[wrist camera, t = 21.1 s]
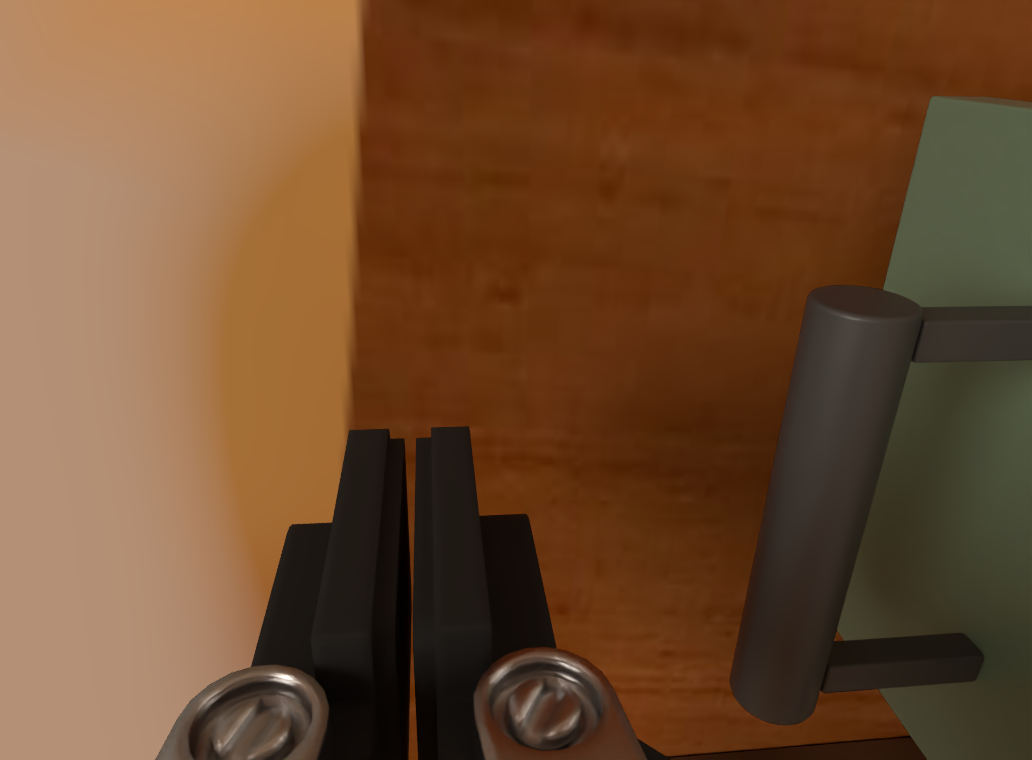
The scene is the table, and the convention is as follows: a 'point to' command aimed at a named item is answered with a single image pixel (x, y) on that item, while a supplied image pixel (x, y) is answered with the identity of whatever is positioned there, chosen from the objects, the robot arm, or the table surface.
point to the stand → (828, 752)
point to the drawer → (913, 466)
